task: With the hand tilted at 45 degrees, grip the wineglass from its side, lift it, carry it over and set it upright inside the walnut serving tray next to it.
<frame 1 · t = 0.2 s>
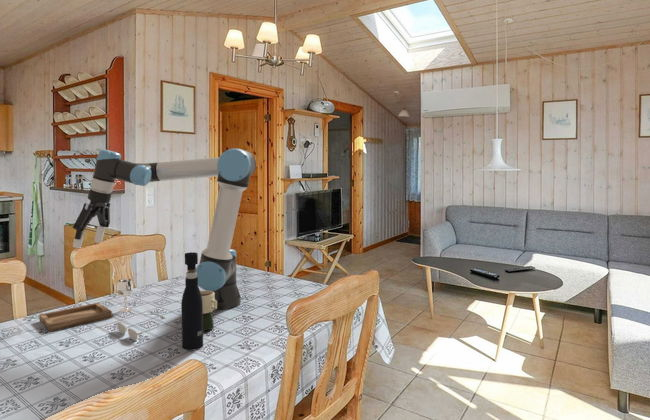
hand: (87, 244, 160), 27 cm above the table, tool pointing down, fingers open, 13 cm apart
eyeglasses: (152, 330, 149), on the table
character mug: (204, 329, 149), on the table
walnut tray: (76, 319, 156), on the table
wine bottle: (192, 346, 135), on the table
wineglass: (125, 310, 167), on the table
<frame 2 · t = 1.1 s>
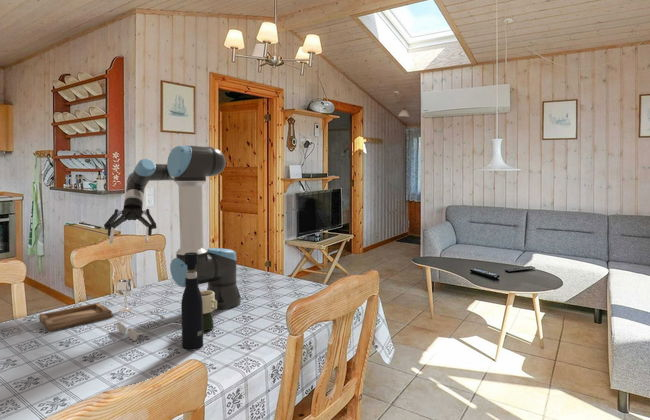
hand: (128, 241, 174), 26 cm above the table, tool tilted 45°, fingers open, 13 cm apart
nothing on the table moved.
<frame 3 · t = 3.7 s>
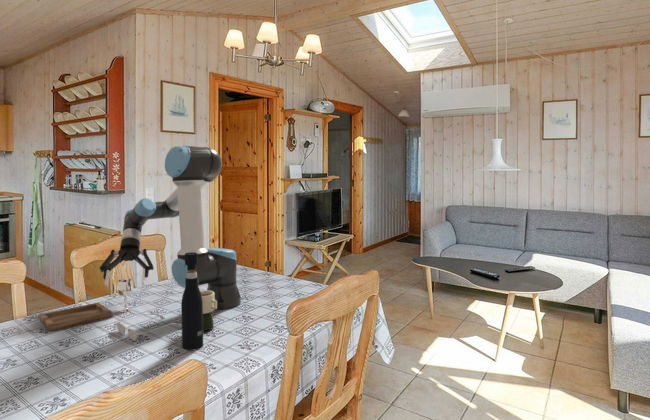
hand: (124, 285, 170), 9 cm above the table, tool tilted 45°, fingers open, 13 cm apart
nothing on the table moved.
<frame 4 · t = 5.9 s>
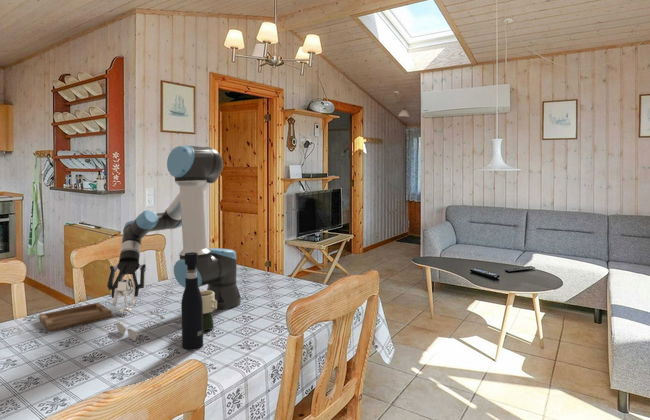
hand: (123, 304, 163), 4 cm above the table, tool tilted 45°, fingers closed on wineglass, 6 cm apart
wineglass: (125, 310, 167), on the table, touching gripper
everything else where it was.
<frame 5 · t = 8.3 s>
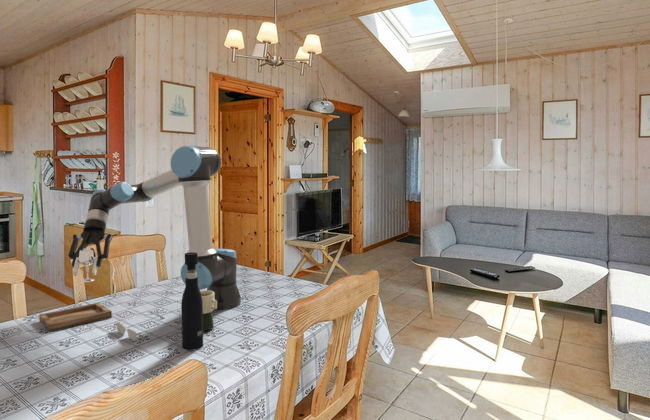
hand: (84, 274, 156), 17 cm above the table, tool tilted 45°, fingers closed on wineglass, 6 cm apart
wineglass: (87, 281, 160), point 13 cm above the table, touching gripper
everything else where it was.
when the fingers open (6 cm above the table, at t = 10.9 s): wineglass drops 1 cm, resting on walnut tray.
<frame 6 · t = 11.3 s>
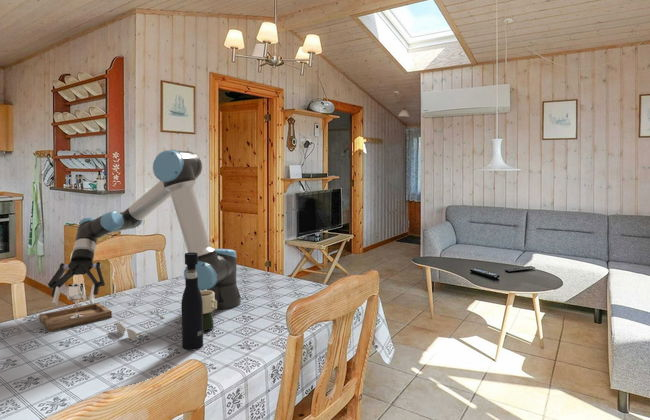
hand: (73, 303, 153), 7 cm above the table, tool tilted 45°, fingers open, 11 cm apart
wineglass: (76, 317, 156), point 1 cm above the table, touching walnut tray
everything else where it was.
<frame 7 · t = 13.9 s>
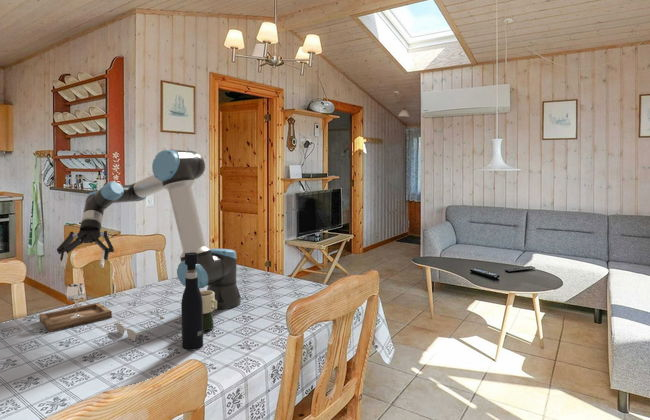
hand: (82, 267, 165), 17 cm above the table, tool tilted 45°, fingers open, 13 cm apart
nothing on the table moved.
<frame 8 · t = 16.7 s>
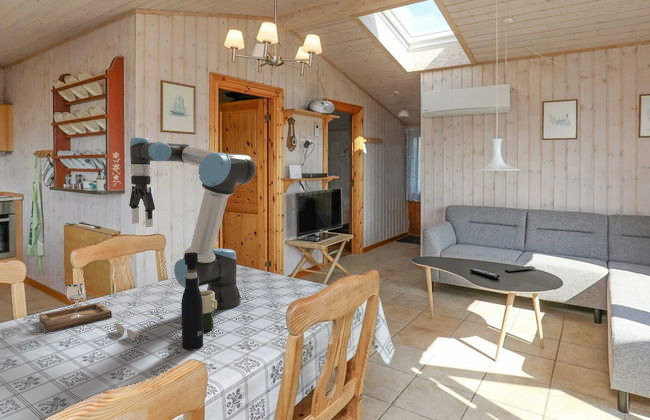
hand: (142, 225, 180), 32 cm above the table, tool pointing down, fingers open, 13 cm apart
nothing on the table moved.
at the end: wineglass inside the target area on the walnut tray (0.2 cm from its centre), point 0.8 cm above the walnut tray's base; wineglass tilted 0°; the gripper is holding nothing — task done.
